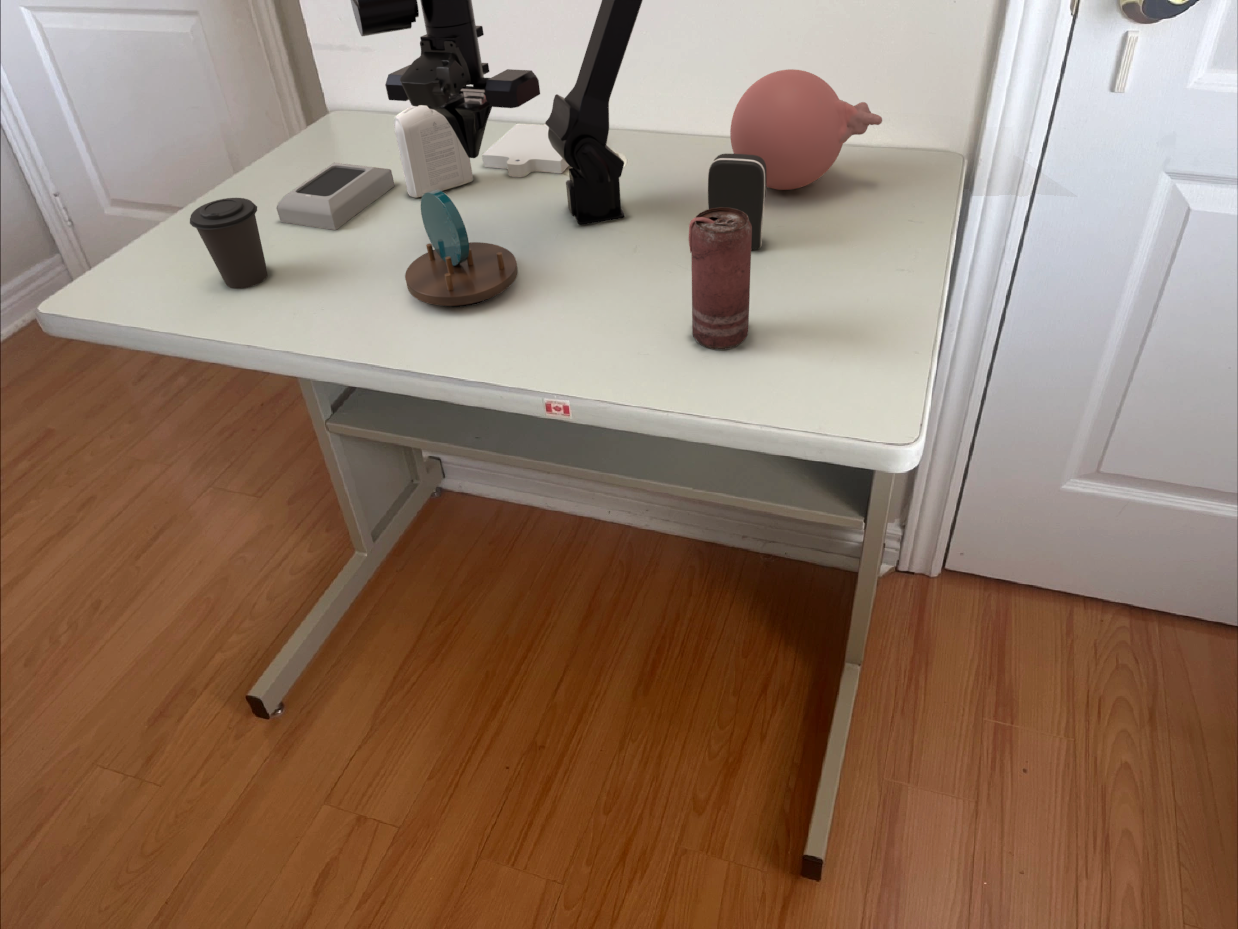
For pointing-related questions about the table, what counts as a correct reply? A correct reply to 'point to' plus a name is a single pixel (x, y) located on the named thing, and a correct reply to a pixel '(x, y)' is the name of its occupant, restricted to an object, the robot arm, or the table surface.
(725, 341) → the worn red soda can
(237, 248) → the coffee cup
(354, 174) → the grey flat block
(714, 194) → the black rounded block
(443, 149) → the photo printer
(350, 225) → the table surface
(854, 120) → the round balloon
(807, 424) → the table surface
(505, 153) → the mounting plate
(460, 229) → the dish rack
